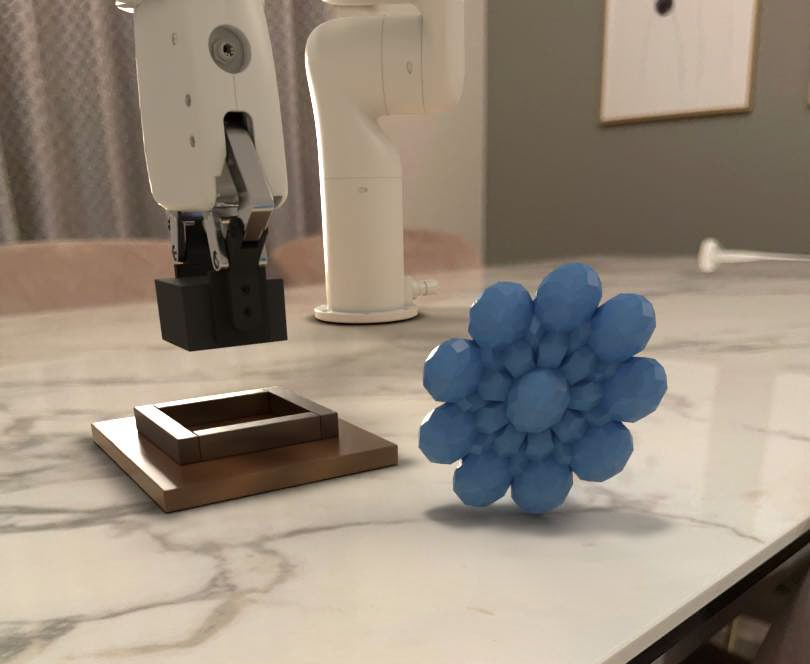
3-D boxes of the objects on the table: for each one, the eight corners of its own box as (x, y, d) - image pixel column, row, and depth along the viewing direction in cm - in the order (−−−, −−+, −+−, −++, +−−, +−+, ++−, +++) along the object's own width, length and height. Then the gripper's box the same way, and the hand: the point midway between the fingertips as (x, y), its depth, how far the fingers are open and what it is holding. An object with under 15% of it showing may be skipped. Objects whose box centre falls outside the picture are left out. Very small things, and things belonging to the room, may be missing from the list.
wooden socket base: (286, 409, 63) (283, 372, 62) (398, 464, 50) (397, 419, 49) (93, 440, 56) (86, 400, 55) (166, 513, 43) (159, 463, 42)
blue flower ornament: (643, 487, 45) (666, 253, 41) (660, 536, 39) (689, 267, 35) (428, 481, 47) (426, 255, 42) (412, 527, 41) (407, 268, 36)
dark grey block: (255, 329, 54) (250, 272, 52) (288, 340, 50) (283, 278, 48) (162, 339, 51) (154, 279, 49) (188, 352, 47) (181, 286, 45)
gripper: (330, -57, 38) (348, 350, 45) (203, 9, 52) (232, 314, 59) (166, -78, 35) (214, 367, 42) (75, -2, 48) (123, 325, 55)
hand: (224, 333), depth 50 cm, fingers closed on dark grey block, 5 cm apart
